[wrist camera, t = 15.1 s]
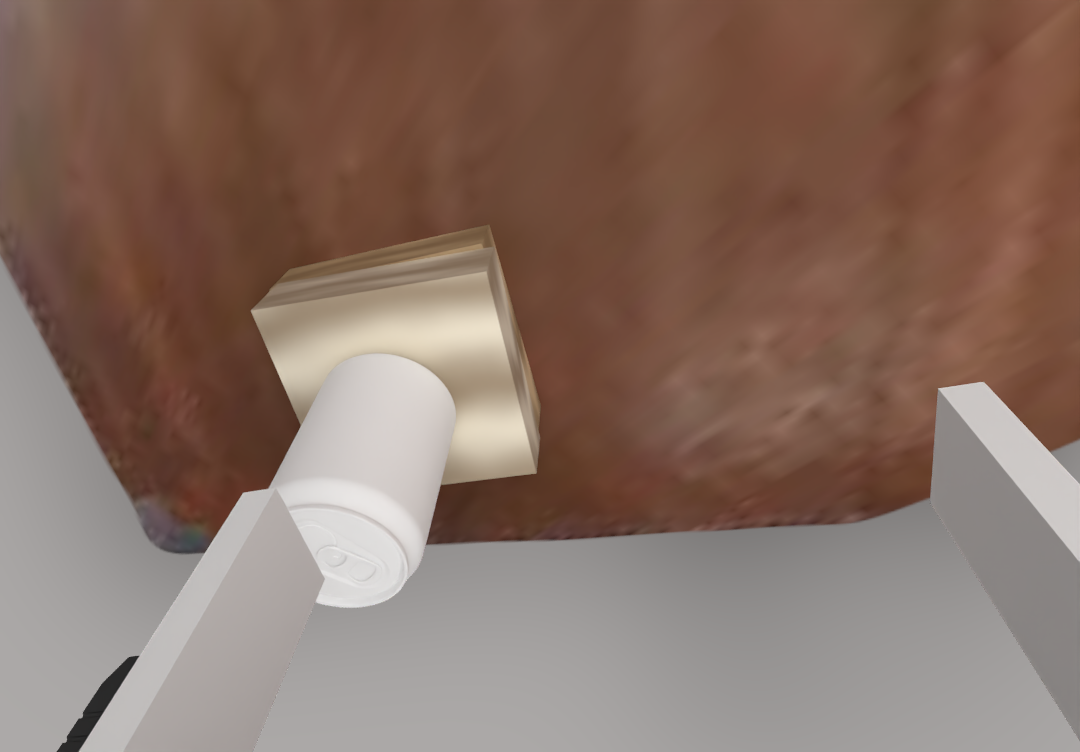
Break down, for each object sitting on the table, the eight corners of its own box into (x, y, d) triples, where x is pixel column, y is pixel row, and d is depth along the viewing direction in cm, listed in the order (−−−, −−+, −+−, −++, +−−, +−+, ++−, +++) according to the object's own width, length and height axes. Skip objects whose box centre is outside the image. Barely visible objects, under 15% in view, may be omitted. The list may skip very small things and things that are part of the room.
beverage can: (364, 321, 39) (289, 472, 29) (484, 395, 42) (451, 556, 32) (301, 408, 43) (217, 566, 33) (414, 470, 46) (366, 633, 36)
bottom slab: (292, 266, 47) (268, 289, 44) (489, 222, 45) (481, 243, 42) (365, 433, 54) (350, 465, 51) (541, 402, 52) (537, 433, 48)
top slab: (277, 283, 44) (250, 310, 40) (494, 246, 42) (486, 271, 38) (350, 461, 50) (332, 498, 47) (540, 437, 48) (536, 473, 45)
